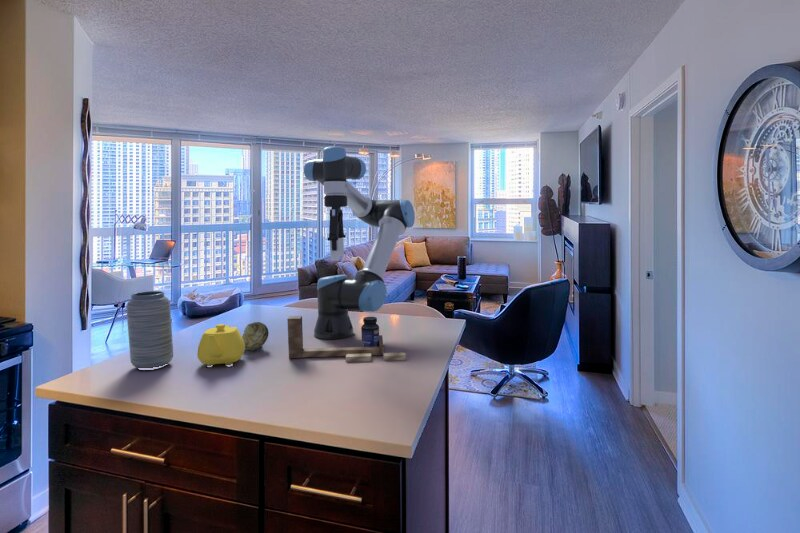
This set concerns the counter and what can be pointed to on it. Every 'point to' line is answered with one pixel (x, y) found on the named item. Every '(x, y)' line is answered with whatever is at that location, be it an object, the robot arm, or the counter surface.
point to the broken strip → (368, 357)
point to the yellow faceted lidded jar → (221, 345)
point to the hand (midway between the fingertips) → (337, 258)
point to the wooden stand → (298, 352)
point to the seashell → (255, 335)
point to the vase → (149, 329)
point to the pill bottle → (370, 332)
